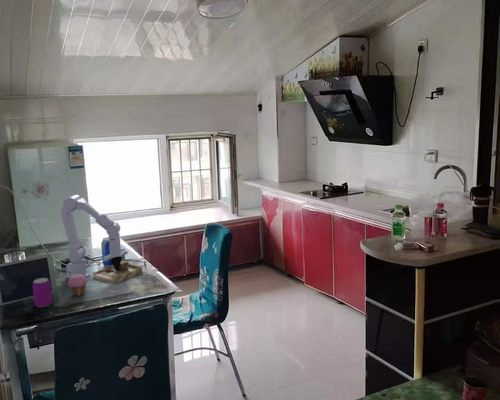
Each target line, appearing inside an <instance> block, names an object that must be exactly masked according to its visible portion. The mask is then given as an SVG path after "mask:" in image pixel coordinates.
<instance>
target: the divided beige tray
mask: <svg viewBox="0 0 500 400" xmlns="http://www.w3.org/2000/svg"><path fill="white" fill-rule="evenodd" d="M92 274H93V278H94V279H96V280H99V281H103V282H106V283H110V284H113V285H114V284H117V283H119V282H121V281H125V280H127V279H130V278H133V277H135V276H137V275H140V274H143V266H140V265H136V264H132V263H130V262H128V270H126V271H124V272H120V271H116V270H115V268H114V266H111V267H105V268H104V269H100V270H97V271H94V272H92Z"/></svg>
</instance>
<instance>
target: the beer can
mask: <svg viewBox="0 0 500 400" xmlns="http://www.w3.org/2000/svg"><path fill="white" fill-rule="evenodd" d="M109 254H110V248H109V236H107V237H103V238H102V240H101V257H102V264H103V266H104V267H105V268H108V267H111V266H113V264H112V262H111V261H110V260H107V261H104V259H103V257H105V256H107V255H109Z"/></svg>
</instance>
